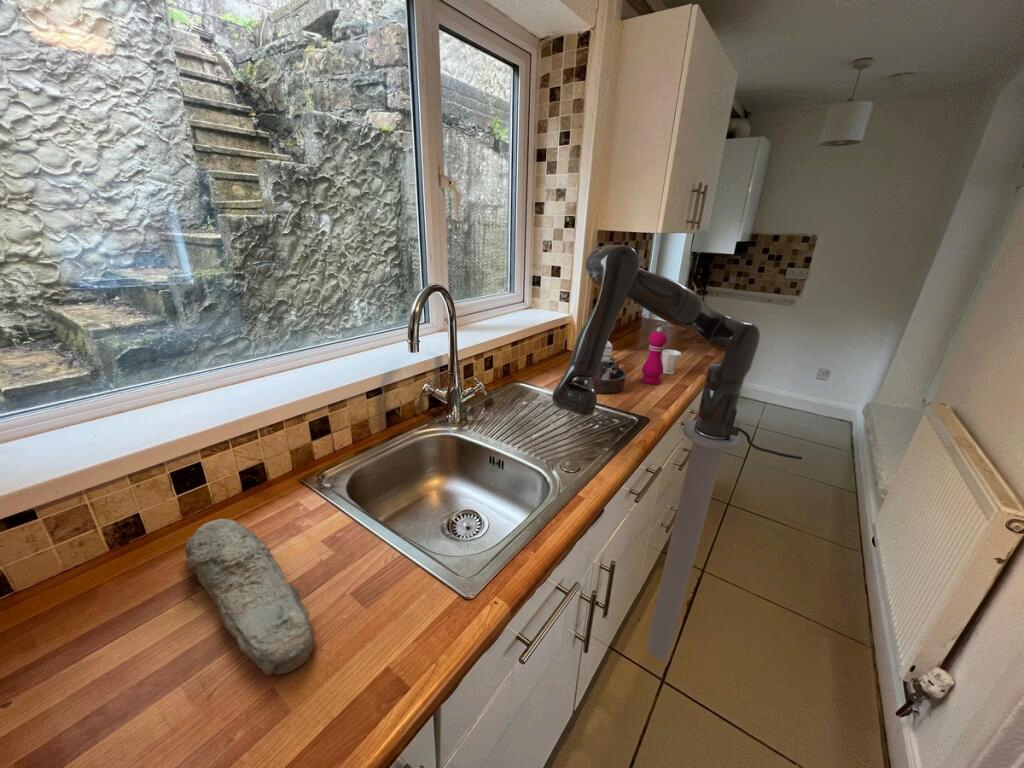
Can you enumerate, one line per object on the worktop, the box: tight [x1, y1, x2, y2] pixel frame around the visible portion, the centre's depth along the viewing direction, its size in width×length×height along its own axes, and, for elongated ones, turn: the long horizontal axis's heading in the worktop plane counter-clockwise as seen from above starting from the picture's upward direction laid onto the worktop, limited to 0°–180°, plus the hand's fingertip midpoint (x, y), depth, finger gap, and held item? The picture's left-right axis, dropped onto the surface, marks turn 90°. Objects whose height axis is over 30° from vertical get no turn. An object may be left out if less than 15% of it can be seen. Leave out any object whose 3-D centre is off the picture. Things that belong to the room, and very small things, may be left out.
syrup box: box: [601, 341, 613, 380], centre depth 139 cm, size 6×6×14 cm
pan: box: [596, 367, 627, 395], centre depth 141 cm, size 17×17×5 cm
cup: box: [661, 349, 682, 375], centre depth 155 cm, size 7×10×8 cm
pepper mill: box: [641, 326, 668, 386], centre depth 142 cm, size 7×7×20 cm
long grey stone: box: [184, 518, 315, 676], centre depth 61 cm, size 35×5×10 cm
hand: (597, 358), depth 126 cm, fingers open, 8 cm apart
